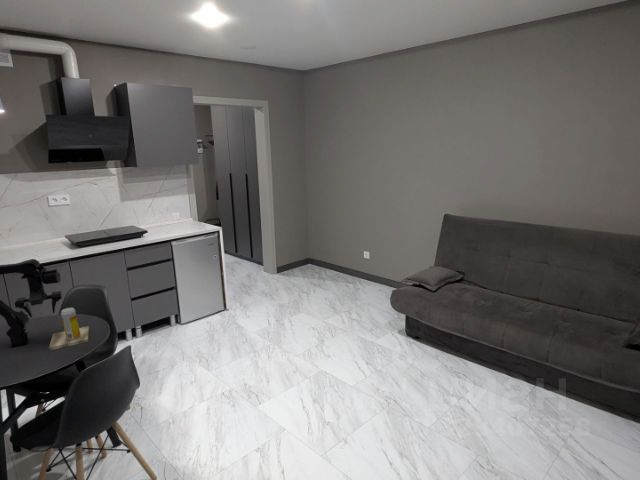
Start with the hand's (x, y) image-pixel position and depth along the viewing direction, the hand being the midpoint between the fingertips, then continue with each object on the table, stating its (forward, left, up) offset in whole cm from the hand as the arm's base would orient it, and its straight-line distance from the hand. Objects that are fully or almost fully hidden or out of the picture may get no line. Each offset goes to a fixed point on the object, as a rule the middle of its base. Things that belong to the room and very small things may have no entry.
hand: (42, 315), depth 199 cm
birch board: (+10, -6, -13) cm, 17 cm away
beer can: (+12, -9, -12) cm, 19 cm away
